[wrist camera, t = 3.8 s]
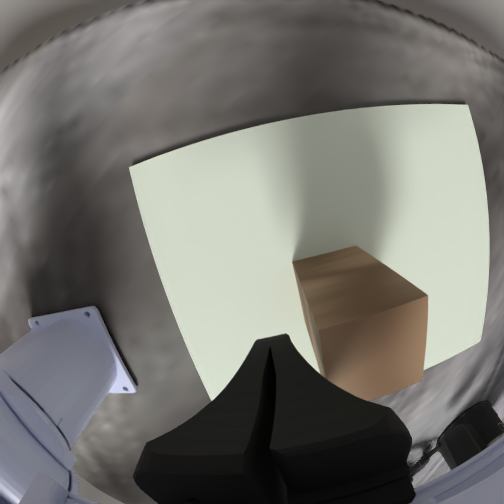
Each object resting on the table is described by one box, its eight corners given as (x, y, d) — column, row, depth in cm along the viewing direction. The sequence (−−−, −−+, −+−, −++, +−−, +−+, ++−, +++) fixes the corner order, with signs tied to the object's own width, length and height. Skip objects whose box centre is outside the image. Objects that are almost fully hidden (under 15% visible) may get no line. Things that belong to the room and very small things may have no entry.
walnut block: (304, 321, 17) (330, 411, 9) (291, 261, 16) (318, 330, 8) (363, 304, 16) (422, 380, 9) (356, 245, 15) (428, 295, 8)
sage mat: (222, 417, 20) (222, 421, 19) (131, 167, 15) (129, 167, 15) (478, 339, 17) (480, 341, 17) (464, 105, 13) (467, 105, 13)
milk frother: (499, 398, 20) (549, 461, 5) (434, 471, 23) (461, 534, 9) (443, 401, 19) (505, 499, 5) (366, 482, 23) (387, 567, 8)
